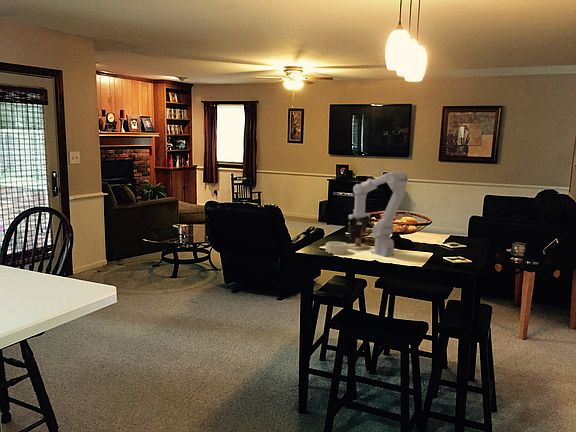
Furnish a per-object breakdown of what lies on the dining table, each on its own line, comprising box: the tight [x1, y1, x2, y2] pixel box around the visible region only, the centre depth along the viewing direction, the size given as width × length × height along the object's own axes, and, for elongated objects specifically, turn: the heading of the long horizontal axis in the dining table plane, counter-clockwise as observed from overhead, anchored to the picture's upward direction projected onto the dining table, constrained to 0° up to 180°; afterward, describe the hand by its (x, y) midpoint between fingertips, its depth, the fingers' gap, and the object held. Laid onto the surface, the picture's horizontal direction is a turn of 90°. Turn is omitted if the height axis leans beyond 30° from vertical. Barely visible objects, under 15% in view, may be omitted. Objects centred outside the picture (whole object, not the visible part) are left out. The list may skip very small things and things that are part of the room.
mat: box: [347, 246, 375, 253], centre depth 269 cm, size 15×15×1 cm
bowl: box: [325, 241, 349, 255], centre depth 258 cm, size 11×11×4 cm
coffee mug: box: [347, 221, 363, 242], centre depth 291 cm, size 12×9×10 cm
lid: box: [347, 238, 371, 251], centre depth 269 cm, size 13×13×5 cm
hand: (358, 230), depth 268 cm, fingers open, 7 cm apart
